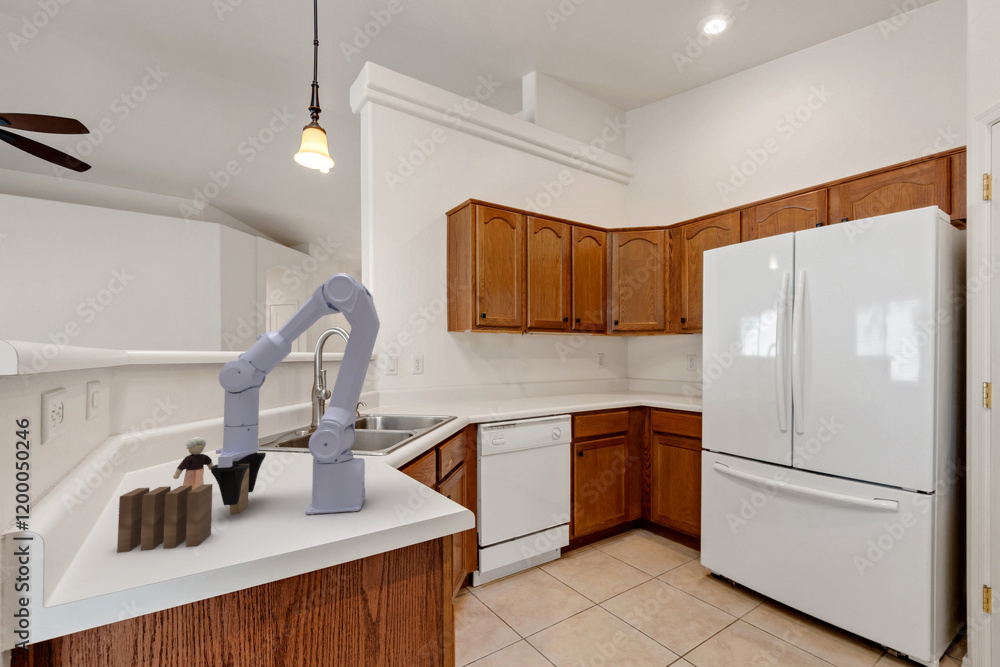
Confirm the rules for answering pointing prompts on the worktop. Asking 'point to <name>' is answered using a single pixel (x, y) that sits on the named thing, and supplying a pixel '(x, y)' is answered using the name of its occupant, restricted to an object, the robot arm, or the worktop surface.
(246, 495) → the domino
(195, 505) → the domino
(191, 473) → the grandmother figurine
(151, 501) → the domino
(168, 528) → the domino
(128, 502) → the domino
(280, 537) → the worktop surface
